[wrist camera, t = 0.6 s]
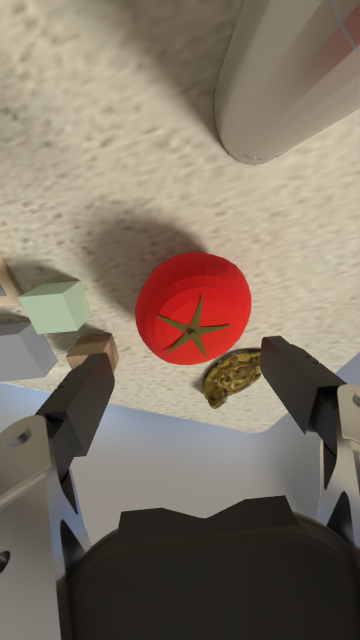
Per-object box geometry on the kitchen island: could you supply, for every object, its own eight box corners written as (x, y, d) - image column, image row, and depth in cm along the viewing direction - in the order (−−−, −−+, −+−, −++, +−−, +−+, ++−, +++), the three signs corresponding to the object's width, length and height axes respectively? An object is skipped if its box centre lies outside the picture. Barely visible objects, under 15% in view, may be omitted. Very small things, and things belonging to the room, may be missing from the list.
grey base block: (-16, 324, 27) (-43, 340, 24) (36, 319, 27) (17, 334, 24) (12, 364, 31) (-7, 382, 28) (58, 359, 31) (45, 377, 28)
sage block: (44, 283, 25) (17, 297, 20) (80, 280, 25) (62, 293, 20) (58, 315, 27) (37, 334, 23) (92, 312, 27) (77, 330, 23)
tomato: (200, 221, 22) (222, 223, 13) (251, 296, 27) (292, 334, 18) (121, 294, 26) (95, 335, 17) (178, 347, 31) (182, 400, 22)
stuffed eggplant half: (242, 332, 32) (189, 382, 37) (251, 347, 28) (189, 401, 33) (277, 359, 34) (222, 402, 39) (290, 376, 30) (227, 423, 35)
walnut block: (81, 336, 29) (65, 357, 25) (112, 333, 29) (102, 353, 25) (90, 359, 32) (78, 382, 27) (119, 357, 32) (111, 379, 27)
